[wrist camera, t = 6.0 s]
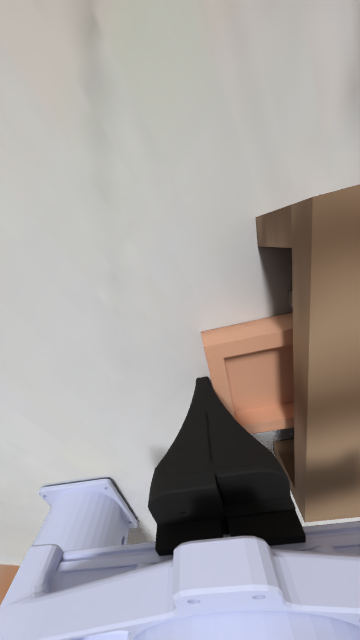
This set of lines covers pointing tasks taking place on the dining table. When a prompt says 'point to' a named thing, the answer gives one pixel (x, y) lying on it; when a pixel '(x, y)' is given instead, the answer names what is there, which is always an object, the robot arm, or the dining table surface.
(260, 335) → the shallow pink tray
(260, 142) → the dining table surface
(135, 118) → the dining table surface
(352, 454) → the wooden block
